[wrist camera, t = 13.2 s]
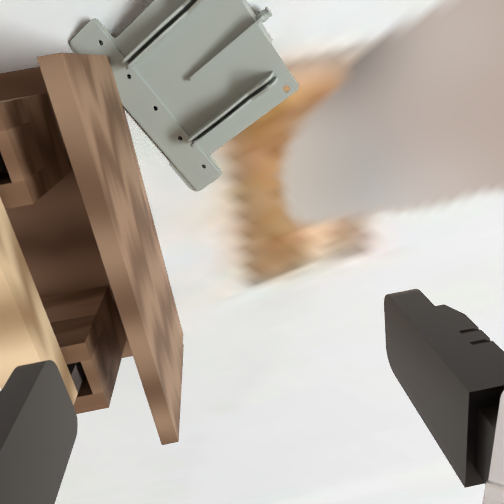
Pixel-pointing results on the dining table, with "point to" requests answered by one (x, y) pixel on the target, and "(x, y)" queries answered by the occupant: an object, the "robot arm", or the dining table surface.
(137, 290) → the wooden pen holder stand
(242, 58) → the metal bracket
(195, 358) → the dining table surface
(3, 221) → the oak rail
